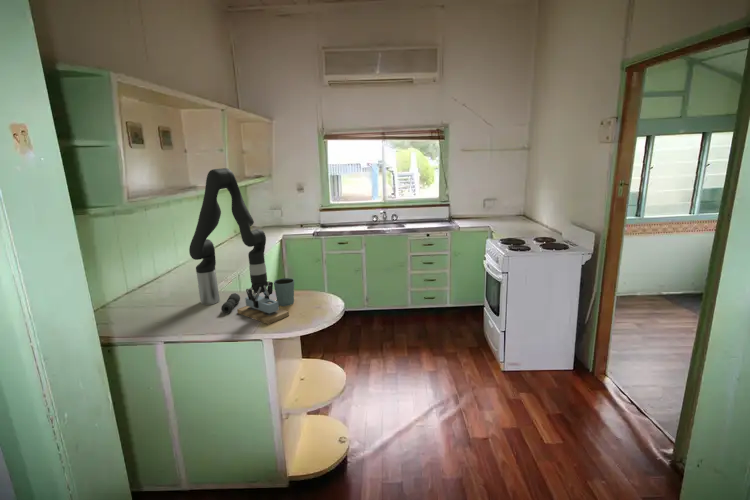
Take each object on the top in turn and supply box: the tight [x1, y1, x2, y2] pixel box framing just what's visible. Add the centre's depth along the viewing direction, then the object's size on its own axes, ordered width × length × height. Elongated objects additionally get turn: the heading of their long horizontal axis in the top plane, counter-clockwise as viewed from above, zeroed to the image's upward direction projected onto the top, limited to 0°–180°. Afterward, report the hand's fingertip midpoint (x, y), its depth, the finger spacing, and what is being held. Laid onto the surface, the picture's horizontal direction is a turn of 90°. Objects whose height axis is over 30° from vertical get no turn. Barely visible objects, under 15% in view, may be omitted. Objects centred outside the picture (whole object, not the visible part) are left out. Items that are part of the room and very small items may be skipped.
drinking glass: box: [273, 277, 295, 307], centre depth 208 cm, size 10×10×12 cm
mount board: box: [236, 302, 290, 325], centre depth 195 cm, size 24×12×7 cm, turn 52°
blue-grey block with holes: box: [244, 295, 280, 314], centre depth 195 cm, size 18×6×4 cm, turn 52°
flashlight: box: [221, 292, 241, 314], centre depth 205 cm, size 15×5×5 cm, turn 3°
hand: (261, 305), depth 195 cm, fingers closed on blue-grey block with holes, 5 cm apart
